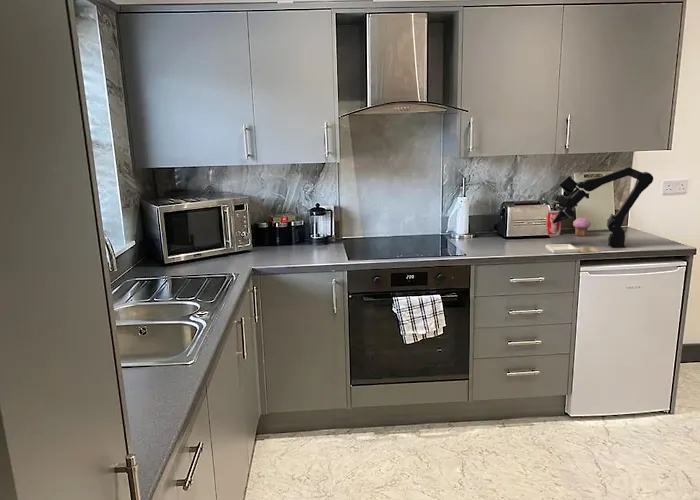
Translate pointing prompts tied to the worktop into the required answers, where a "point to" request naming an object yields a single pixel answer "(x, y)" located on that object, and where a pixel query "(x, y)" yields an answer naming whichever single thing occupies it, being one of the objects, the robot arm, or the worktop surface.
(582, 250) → the cork mat
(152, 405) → the worktop surface
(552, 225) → the soda can
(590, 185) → the robot arm
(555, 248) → the dish
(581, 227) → the cupcake
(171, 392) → the worktop surface
